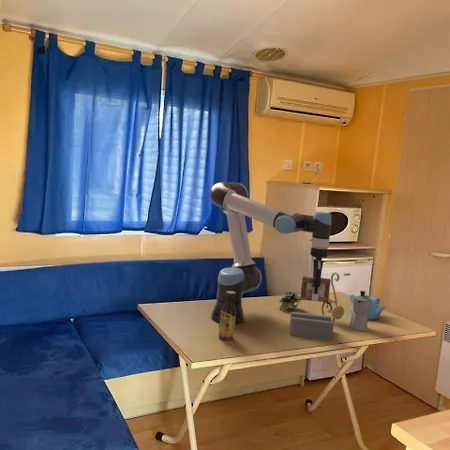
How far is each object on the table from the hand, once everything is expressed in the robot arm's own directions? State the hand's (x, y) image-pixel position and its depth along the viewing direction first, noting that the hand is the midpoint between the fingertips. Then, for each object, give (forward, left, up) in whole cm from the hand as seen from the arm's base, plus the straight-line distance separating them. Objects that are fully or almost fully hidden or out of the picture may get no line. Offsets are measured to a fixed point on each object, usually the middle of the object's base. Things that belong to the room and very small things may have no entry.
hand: (314, 299), depth 202 cm
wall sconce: (+10, +18, -16) cm, 26 cm away
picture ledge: (0, 0, -15) cm, 15 cm away
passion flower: (-8, +30, -16) cm, 35 cm away
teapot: (+30, +35, -16) cm, 49 cm away
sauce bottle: (-36, -19, -16) cm, 44 cm away
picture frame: (0, 0, 0) cm, 0 cm away
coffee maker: (+24, +15, -16) cm, 32 cm away
